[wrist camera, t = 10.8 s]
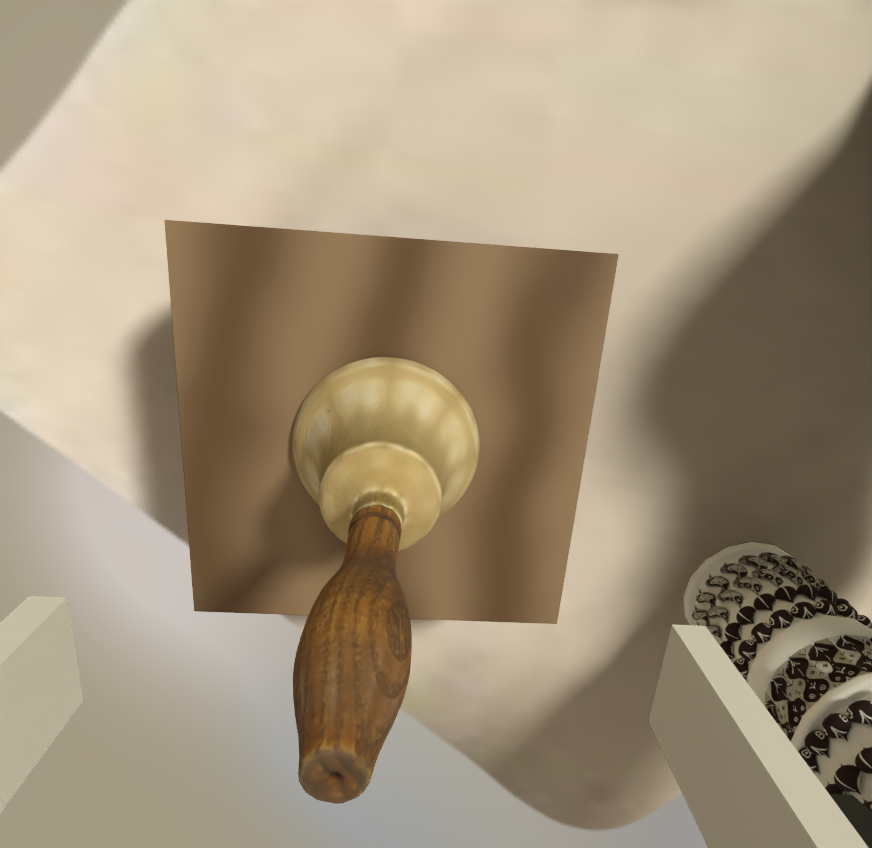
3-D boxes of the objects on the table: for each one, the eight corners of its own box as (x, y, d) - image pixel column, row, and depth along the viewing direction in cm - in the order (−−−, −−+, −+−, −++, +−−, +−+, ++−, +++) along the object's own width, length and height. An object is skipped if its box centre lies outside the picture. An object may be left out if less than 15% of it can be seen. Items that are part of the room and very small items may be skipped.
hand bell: (433, 554, 27) (459, 969, 11) (267, 491, 25) (47, 866, 10) (511, 402, 24) (671, 665, 9) (333, 324, 23) (179, 484, 8)
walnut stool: (562, 250, 31) (618, 254, 23) (523, 534, 37) (556, 623, 28) (235, 225, 30) (164, 219, 21) (246, 522, 36) (194, 611, 27)
